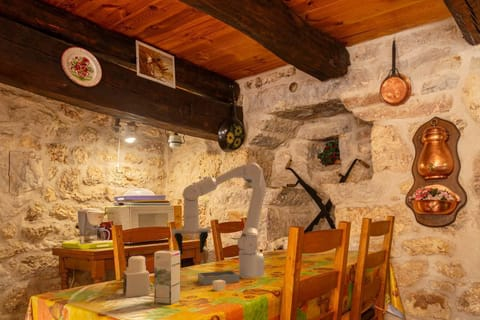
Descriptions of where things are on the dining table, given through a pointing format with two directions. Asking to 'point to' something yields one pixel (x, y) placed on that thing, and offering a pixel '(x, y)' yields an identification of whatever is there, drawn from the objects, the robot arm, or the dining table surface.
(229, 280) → the tub
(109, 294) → the dining table surface
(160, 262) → the syrup box
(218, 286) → the lid
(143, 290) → the medicine bottle
